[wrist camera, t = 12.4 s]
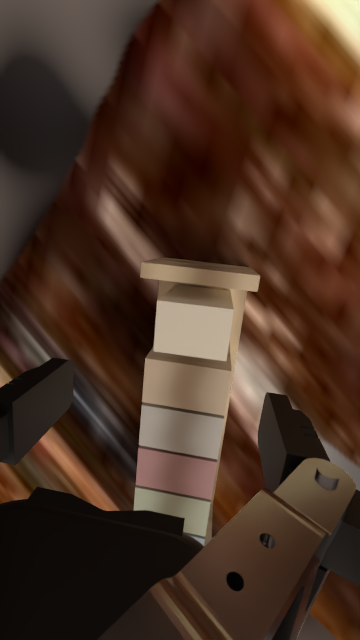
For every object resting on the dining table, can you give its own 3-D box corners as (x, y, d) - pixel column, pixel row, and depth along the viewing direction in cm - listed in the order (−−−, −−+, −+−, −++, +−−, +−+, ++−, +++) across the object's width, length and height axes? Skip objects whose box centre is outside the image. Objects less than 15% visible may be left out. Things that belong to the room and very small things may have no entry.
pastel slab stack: (143, 487, 39) (120, 561, 30) (163, 257, 31) (139, 262, 22) (211, 501, 38) (208, 582, 29) (249, 267, 30) (261, 276, 21)
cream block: (175, 284, 30) (157, 300, 22) (230, 290, 30) (233, 309, 21) (172, 322, 31) (153, 351, 23) (225, 328, 31) (226, 361, 22)
